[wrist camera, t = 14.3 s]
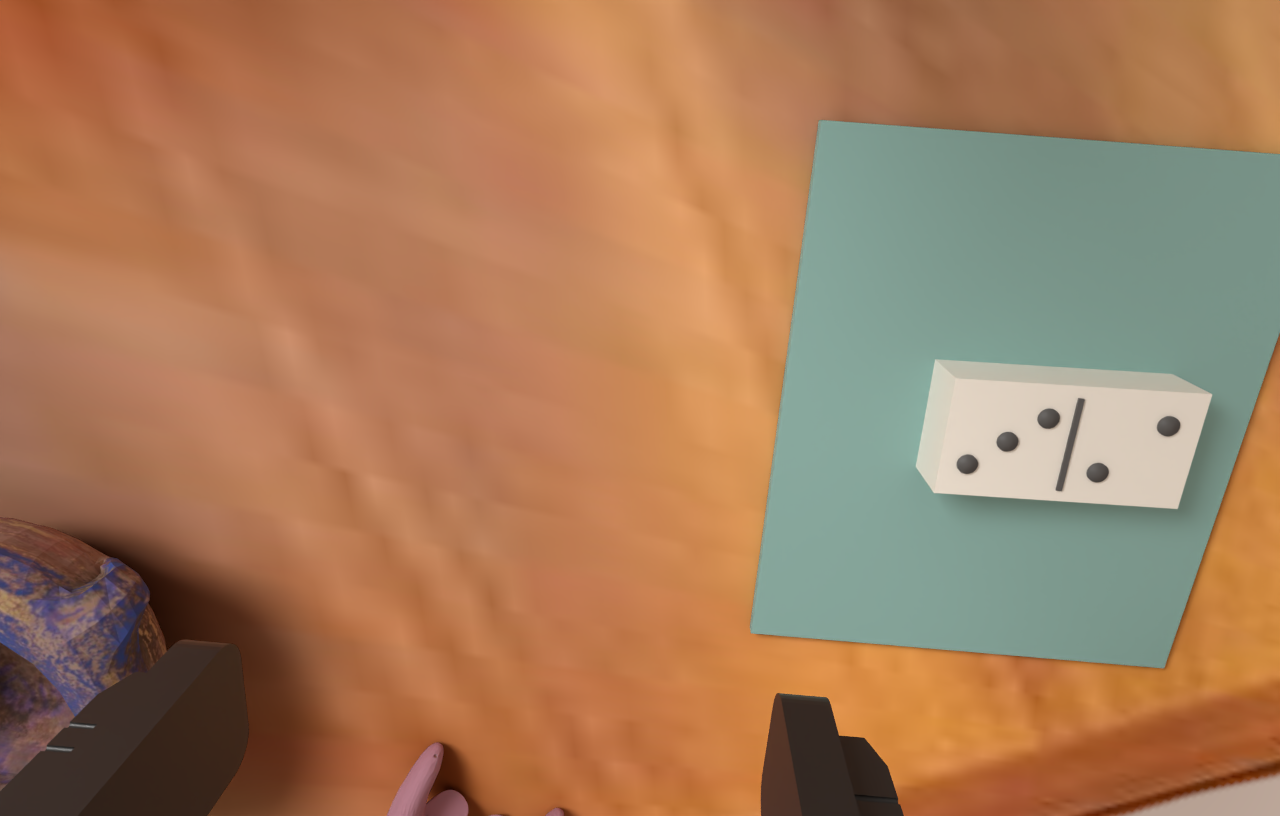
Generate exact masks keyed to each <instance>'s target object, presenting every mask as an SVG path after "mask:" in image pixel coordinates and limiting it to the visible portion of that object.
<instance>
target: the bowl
mask: <svg viewBox="0 0 1280 816" xmlns="http://www.w3.org/2000/svg"><path fill="white" fill-rule="evenodd" d="M149 599H150V591H149V589H148V587H147V585H146V584H145V582H144V581H143V580H142V578H141V577H140V575H139V574H138V573H137V572H136V571H134V570H133V569H131V568H130V567H129V566H127V565H126V564H124V563H122V562H121V561H120V560H119V559H118V558H113V557H108V556H107V555H105V554H103V553H101V552H99V551H98V550H96V549H94V548H92V547H91V546H89V545H87V544H86V543H84V542H82V541H81V540H79V539H77V538H74V537H72V536H70V535H67V534H65V533H63V532H60V531H58V530H56V529H53V528H49V527H45V526H41V525H37V524H33V523H29V522H25V521H21V520H17V519H13V518H2V517H0V791H1V790H2V789H3V788H4V787H5V786H6V785H7V784H8V783H9V782H10V781H11V780H12V779H13V778H14V777H15V776H16V775H17V774H18V773H19V772H20V771H21V770H22V769H23V768H24V767H25V766H26V765H27V764H28V763H29V762H30V761H31V760H32V759H33V758H34V757H35V756H36V755H37V754H38V753H39V752H40V751H45V750H46V747H47V744H48V743H49V742H50V741H51V740H52V739H53V738H54V737H55V736H56V735H57V734H58V733H59V732H60V731H61V730H62V729H63V728H64V727H65V728H68V727H69V725H70V721H71V720H72V719H73V718H74V717H75V716H76V715H77V714H78V713H79V712H80V711H81V710H82V709H83V708H84V707H85V706H86V705H87V704H88V703H89V702H90V701H91V700H92V699H93V698H94V697H95V696H96V695H97V694H99V693H101V692H102V691H104V690H106V689H107V688H109V687H111V686H112V685H114V684H116V683H118V682H119V681H121V680H123V679H124V678H126V677H128V676H129V675H131V674H133V673H134V672H145V673H147V672H148V671H149V670H150V668H151V667H152V666H153V665H154V664H155V663H156V662H157V661H158V660H159V659H160V658H161V657H162V656H163V655H164V654H165V653H166V652H167V649H166V644H165V639H164V636H163V634H162V631H161V629H160V626H159V624H158V621H157V619H156V617H155V614H154V612H153V610H152V609H151V607H150V605H149V603H148V602H149Z"/></svg>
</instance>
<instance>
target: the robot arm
mask: <svg viewBox="0 0 1280 816" xmlns="http://www.w3.org/2000/svg"><path fill="white" fill-rule="evenodd" d="M248 735H249V724H248V715H247V706H246V697H245V688H244V679H243V670H242V662H241V655H240V651H239V649H238V647H237V646H236V645H234V644H229V643H218V642H206V641H195V640H180V641H178V642H176V643H175V644H174V645H173V646H172V647H171V648H170V649H169V650H168V651H167V652H166V653H165V654H164V655H163V656H162V657H161V658H160V659H159V660H158V661H157V662H156V663H155V664H154V665H153V666H152V667H151V668H150V670H149V671H148V672H147V673H145V672H134V673H133V674H131V675H129V676H128V677H126V678H124V679H123V680H121V681H119V682H118V683H116V684H114V685H112V686H111V687H109V688H107V689H106V690H104V691H102V692H101V693H99V694H97V695H96V696H95V697H94V698H93V699H92V700H91V701H90V702H89V703H88V704H87V705H86V706H85V707H84V708H83V709H82V710H81V711H80V712H79V713H78V714H77V715H76V716H75V717H74V718H73V719H72V720H71V721H70V725H69V727H68V728H65V727H64V728H63V729H62V730H61V731H60V732H59V733H58V734H57V735H56V736H55V737H54V738H53V739H52V740H51V741H50V742H49V743H48V744H47V747H46V750H45V751H40V752H39V753H38V754H37V755H36V756H35V757H34V758H33V759H32V760H31V761H30V762H29V763H28V764H27V765H26V766H25V767H24V768H23V769H22V770H21V771H20V772H19V773H18V774H17V775H16V776H15V777H14V778H13V779H12V780H11V781H10V782H9V783H8V784H7V785H6V786H5V787H4V788H3V789H2V790H1V791H0V816H207V815H208V814H209V812H210V811H211V809H212V808H213V806H214V805H215V803H216V802H217V800H218V799H219V797H220V796H221V794H222V793H223V791H224V790H225V788H226V787H227V786H228V784H229V783H230V781H231V780H232V778H233V777H234V775H235V774H236V772H237V770H238V768H239V766H240V764H241V762H242V760H243V757H244V754H245V751H246V747H247V742H248ZM761 816H904V815H903V812H902V809H901V806H900V804H898V797H897V794H896V791H895V788H894V785H893V781H892V778H891V775H890V772H889V769H888V766H887V765H886V764H885V763H884V761H883V760H882V759H881V758H880V757H879V755H878V754H877V753H876V752H875V750H874V749H873V748H872V747H871V746H870V744H869V743H868V742H867V741H866V739H865V738H860V737H848V736H839V735H838V731H837V727H836V723H835V719H834V716H833V712H832V708H831V704H830V702H829V700H828V698H826V697H815V696H804V695H792V694H781V693H777V694H776V696H775V699H774V704H773V710H772V716H771V722H770V729H769V735H768V742H767V748H766V754H765V761H764V767H763V774H762V784H761Z"/></svg>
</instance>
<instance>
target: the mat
mask: <svg viewBox="0 0 1280 816" xmlns="http://www.w3.org/2000/svg"><path fill="white" fill-rule="evenodd" d="M1279 333H1280V154H1270V153H1257V152H1244V151H1230V150H1217V149H1203V148H1190V147H1176V146H1163V145H1150V144H1136V143H1123V142H1109V141H1096V140H1082V139H1069V138H1055V137H1042V136H1029V135H1015V134H1002V133H988V132H975V131H961V130H948V129H934V128H921V127H908V126H894V125H881V124H867V123H854V122H840V121H827V120H819V123H818V130H817V138H816V145H815V152H814V160H813V167H812V174H811V182H810V189H809V197H808V204H807V211H806V219H805V226H804V233H803V241H802V248H801V255H800V263H799V270H798V277H797V285H796V292H795V299H794V307H793V314H792V321H791V329H790V336H789V344H788V351H787V358H786V366H785V373H784V380H783V388H782V395H781V402H780V410H779V417H778V424H777V432H776V439H775V446H774V454H773V461H772V468H771V476H770V483H769V491H768V498H767V505H766V513H765V520H764V527H763V535H762V542H761V549H760V557H759V564H758V571H757V579H756V586H755V593H754V601H753V608H752V615H751V623H750V630H751V633H754V634H766V635H778V636H790V637H801V638H813V639H825V640H837V641H848V642H860V643H872V644H884V645H896V646H907V647H919V648H931V649H943V650H954V651H966V652H978V653H990V654H1001V655H1013V656H1025V657H1037V658H1049V659H1060V660H1072V661H1084V662H1096V663H1107V664H1119V665H1131V666H1143V667H1154V668H1164V667H1165V664H1166V661H1167V658H1168V655H1169V653H1170V650H1171V647H1172V644H1173V641H1174V638H1175V635H1176V632H1177V629H1178V626H1179V624H1180V621H1181V618H1182V615H1183V612H1184V609H1185V606H1186V603H1187V600H1188V597H1189V594H1190V592H1191V589H1192V586H1193V583H1194V580H1195V577H1196V574H1197V571H1198V568H1199V565H1200V563H1201V560H1202V557H1203V554H1204V551H1205V548H1206V545H1207V542H1208V539H1209V536H1210V533H1211V531H1212V528H1213V525H1214V522H1215V519H1216V516H1217V513H1218V510H1219V507H1220V504H1221V502H1222V499H1223V496H1224V493H1225V490H1226V487H1227V484H1228V481H1229V478H1230V475H1231V473H1232V470H1233V467H1234V464H1235V461H1236V458H1237V455H1238V452H1239V449H1240V446H1241V443H1242V441H1243V438H1244V435H1245V432H1246V429H1247V426H1248V423H1249V420H1250V417H1251V414H1252V412H1253V409H1254V406H1255V403H1256V400H1257V397H1258V394H1259V391H1260V388H1261V385H1262V382H1263V380H1264V377H1265V374H1266V371H1267V368H1268V365H1269V362H1270V359H1271V356H1272V353H1273V351H1274V348H1275V345H1276V342H1277V339H1278V336H1279ZM935 359H939V360H955V361H971V362H987V363H1003V364H1019V365H1036V366H1052V367H1068V368H1084V369H1100V370H1116V371H1132V372H1148V373H1165V374H1173V375H1175V376H1177V377H1179V378H1181V379H1183V380H1185V381H1187V382H1189V383H1191V384H1193V385H1195V386H1197V387H1199V388H1201V389H1203V390H1205V391H1207V392H1209V393H1211V394H1212V398H1211V401H1210V404H1209V407H1208V411H1207V414H1206V417H1205V420H1204V424H1203V427H1202V430H1201V434H1200V437H1199V440H1198V443H1197V447H1196V450H1195V453H1194V457H1193V460H1192V463H1191V466H1190V470H1189V473H1188V476H1187V480H1186V483H1185V486H1184V489H1183V493H1182V496H1181V499H1180V502H1179V506H1178V509H1171V508H1155V507H1140V506H1125V505H1110V504H1094V503H1079V502H1064V501H1049V500H1034V499H1018V498H1003V497H988V496H973V495H957V494H942V493H934V492H933V491H932V489H931V488H930V487H929V485H928V484H927V482H926V481H925V479H924V478H923V476H922V475H921V474H920V472H919V471H918V469H917V468H916V462H917V457H918V451H919V446H920V440H921V435H922V429H923V424H924V418H925V413H926V407H927V402H928V396H929V391H930V385H931V380H932V374H933V369H934V363H935Z"/></svg>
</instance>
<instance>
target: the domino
mask: <svg viewBox="0 0 1280 816" xmlns="http://www.w3.org/2000/svg"><path fill="white" fill-rule="evenodd" d="M1211 398H1212V394H1211V393H1209V392H1207V391H1205V390H1203V389H1201V388H1199V387H1197V386H1195V385H1193V384H1191V383H1189V382H1187V381H1185V380H1183V379H1181V378H1179V377H1177V376H1175V375H1173V374H1165V373H1148V372H1132V371H1116V370H1100V369H1084V368H1068V367H1052V366H1036V365H1019V364H1003V363H987V362H971V361H955V360H939V359H935V363H934V369H933V374H932V380H931V385H930V391H929V396H928V402H927V407H926V413H925V418H924V424H923V429H922V435H921V440H920V446H919V451H918V457H917V462H916V468H917V469H918V471H919V472H920V474H921V475H922V476H923V478H924V479H925V481H926V482H927V484H928V485H929V487H930V488H931V489H932V491H933V492H934V493H942V494H957V495H973V496H988V497H1003V498H1018V499H1034V500H1049V501H1064V502H1079V503H1094V504H1110V505H1125V506H1140V507H1155V508H1171V509H1178V506H1179V502H1180V499H1181V496H1182V493H1183V489H1184V486H1185V483H1186V480H1187V476H1188V473H1189V470H1190V466H1191V463H1192V460H1193V457H1194V453H1195V450H1196V447H1197V443H1198V440H1199V437H1200V434H1201V430H1202V427H1203V424H1204V420H1205V417H1206V414H1207V411H1208V407H1209V404H1210V401H1211Z"/></svg>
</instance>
